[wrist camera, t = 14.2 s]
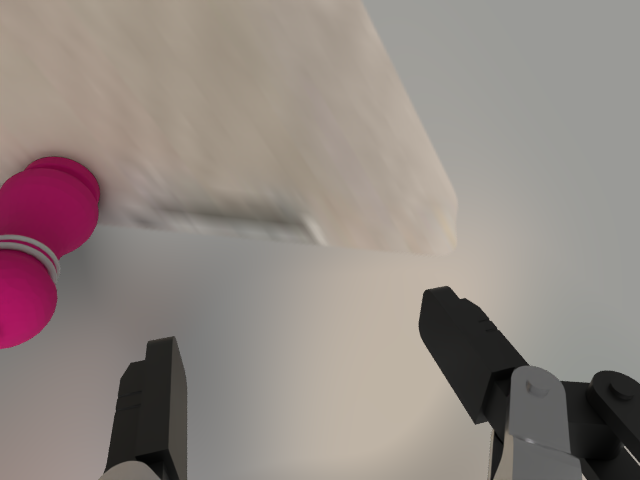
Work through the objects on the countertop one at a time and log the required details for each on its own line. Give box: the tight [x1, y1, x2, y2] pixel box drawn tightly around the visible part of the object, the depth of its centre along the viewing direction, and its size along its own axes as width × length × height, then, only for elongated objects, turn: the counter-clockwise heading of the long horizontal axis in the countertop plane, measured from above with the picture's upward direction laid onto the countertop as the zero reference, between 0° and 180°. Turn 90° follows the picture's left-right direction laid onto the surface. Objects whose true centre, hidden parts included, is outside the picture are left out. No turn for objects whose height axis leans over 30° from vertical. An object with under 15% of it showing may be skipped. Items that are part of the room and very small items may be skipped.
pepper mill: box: [0, 157, 100, 349], centre depth 30 cm, size 7×7×20 cm
